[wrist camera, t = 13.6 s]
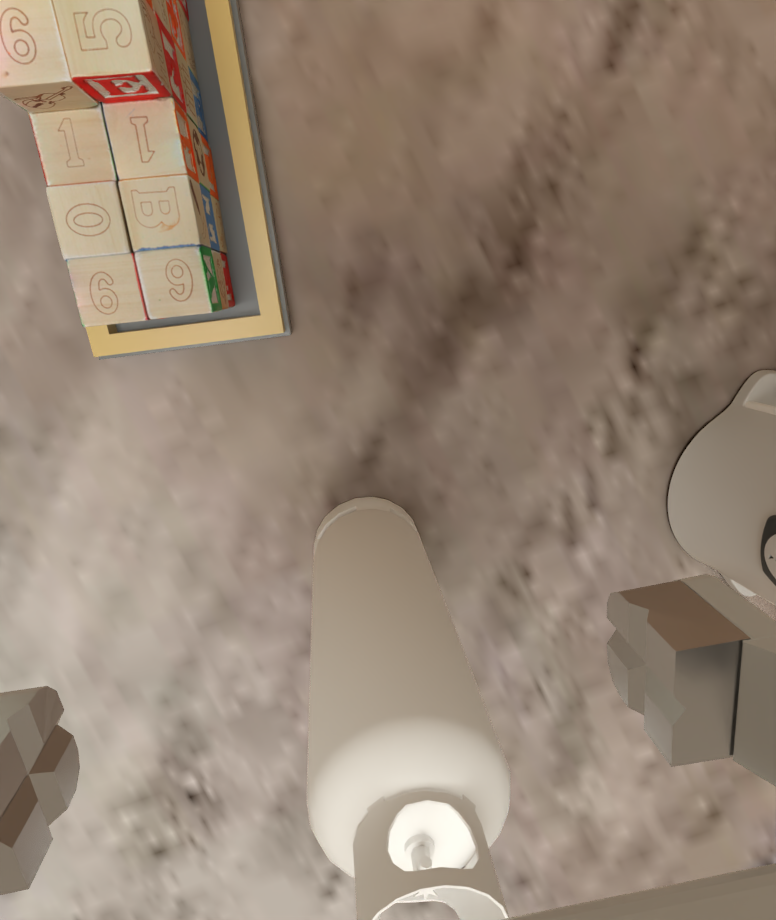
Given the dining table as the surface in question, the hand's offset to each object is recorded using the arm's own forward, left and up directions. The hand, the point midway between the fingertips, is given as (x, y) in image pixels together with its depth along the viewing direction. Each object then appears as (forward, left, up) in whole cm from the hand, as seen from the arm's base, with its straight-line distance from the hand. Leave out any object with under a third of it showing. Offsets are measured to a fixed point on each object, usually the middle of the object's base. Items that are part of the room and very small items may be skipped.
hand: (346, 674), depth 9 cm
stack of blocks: (+8, -15, -31) cm, 36 cm away
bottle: (-1, +14, -33) cm, 36 cm away
